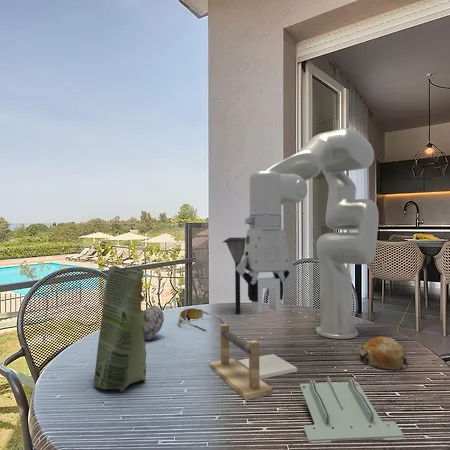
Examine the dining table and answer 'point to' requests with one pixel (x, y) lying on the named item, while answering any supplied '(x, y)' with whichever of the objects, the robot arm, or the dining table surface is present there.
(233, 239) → the solar garden light
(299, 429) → the dining table surface
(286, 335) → the dining table surface
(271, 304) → the notched grey block
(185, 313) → the sunglasses
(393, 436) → the metal bracket
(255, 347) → the rail stand
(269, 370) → the square tile
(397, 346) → the bread roll
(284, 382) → the dining table surface
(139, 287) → the pouch
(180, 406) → the dining table surface
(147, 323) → the pumice stone
